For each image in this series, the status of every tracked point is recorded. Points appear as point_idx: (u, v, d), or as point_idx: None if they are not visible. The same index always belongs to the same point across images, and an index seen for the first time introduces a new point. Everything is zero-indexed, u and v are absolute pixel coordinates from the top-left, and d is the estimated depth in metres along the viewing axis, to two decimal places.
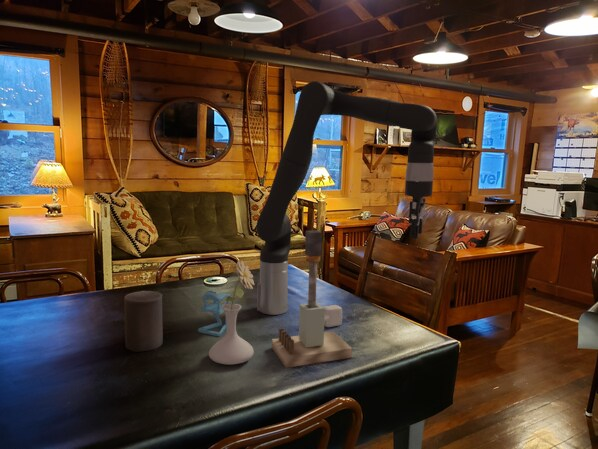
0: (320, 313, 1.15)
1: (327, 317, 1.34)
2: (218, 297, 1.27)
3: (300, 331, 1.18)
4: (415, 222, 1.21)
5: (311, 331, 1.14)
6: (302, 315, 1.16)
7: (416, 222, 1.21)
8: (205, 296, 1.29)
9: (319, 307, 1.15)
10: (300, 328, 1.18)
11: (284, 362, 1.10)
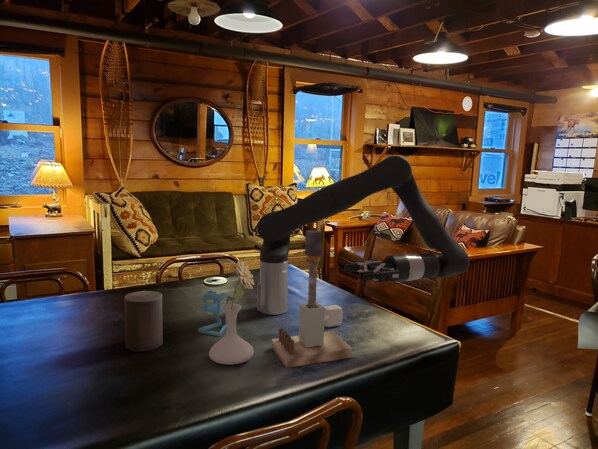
0: (320, 313, 1.15)
1: (327, 317, 1.34)
2: (218, 297, 1.27)
3: (300, 331, 1.18)
4: (381, 279, 1.14)
5: (311, 331, 1.14)
6: (302, 315, 1.16)
7: (381, 280, 1.14)
8: (205, 296, 1.29)
9: (319, 307, 1.15)
10: (300, 328, 1.18)
11: (284, 362, 1.10)
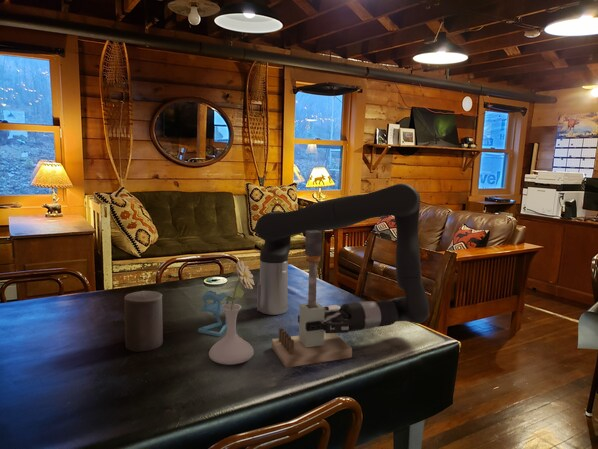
0: (320, 313, 1.15)
1: None
2: (218, 297, 1.27)
3: (300, 331, 1.18)
4: (327, 330, 1.13)
5: (311, 331, 1.14)
6: (302, 315, 1.16)
7: (327, 332, 1.13)
8: (205, 296, 1.29)
9: (319, 307, 1.15)
10: (300, 328, 1.18)
11: (284, 362, 1.10)
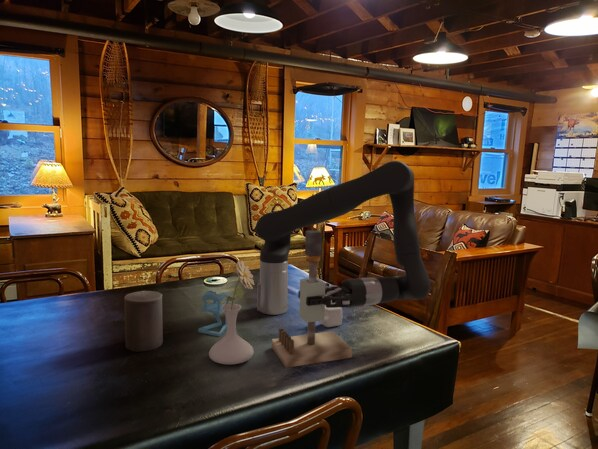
0: (321, 288, 1.13)
1: (327, 317, 1.34)
2: (218, 297, 1.27)
3: (300, 307, 1.17)
4: (328, 305, 1.11)
5: (312, 306, 1.13)
6: (303, 290, 1.15)
7: (328, 306, 1.12)
8: (205, 296, 1.29)
9: (320, 282, 1.14)
10: (300, 303, 1.17)
11: (284, 362, 1.10)
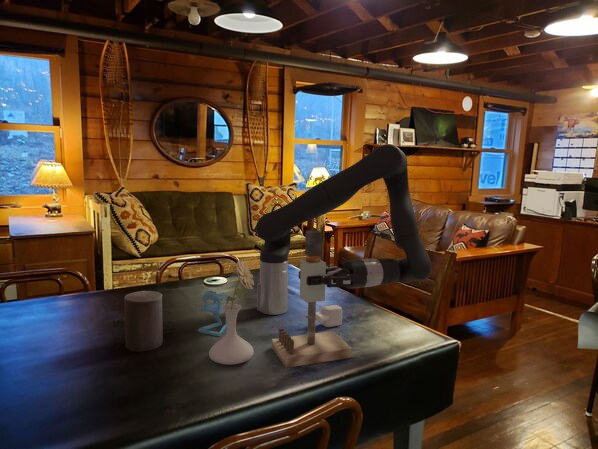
0: (321, 267, 1.13)
1: (327, 317, 1.34)
2: (218, 297, 1.27)
3: (300, 287, 1.16)
4: (329, 284, 1.11)
5: (312, 286, 1.13)
6: (303, 270, 1.14)
7: (329, 285, 1.11)
8: (205, 296, 1.29)
9: (320, 262, 1.13)
10: (301, 284, 1.16)
11: (284, 362, 1.10)
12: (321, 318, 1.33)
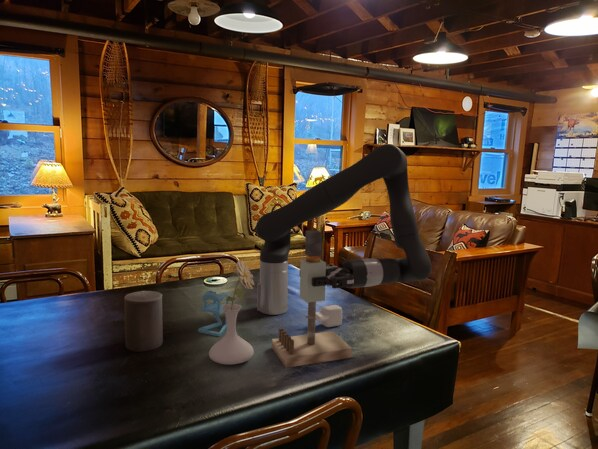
0: (321, 267, 1.13)
1: (327, 317, 1.34)
2: (218, 297, 1.27)
3: (300, 287, 1.16)
4: (334, 285, 1.10)
5: (312, 286, 1.13)
6: (303, 270, 1.14)
7: (334, 286, 1.10)
8: (205, 296, 1.29)
9: (320, 262, 1.13)
10: (301, 284, 1.16)
11: (284, 362, 1.10)
12: (321, 318, 1.33)
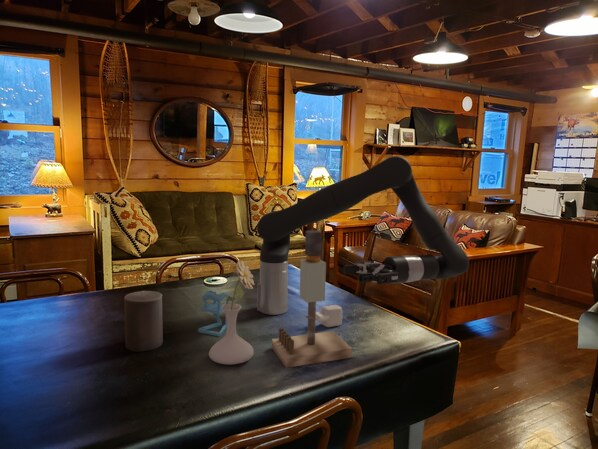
0: (321, 267, 1.13)
1: (327, 317, 1.34)
2: (218, 297, 1.27)
3: (300, 287, 1.16)
4: (380, 281, 1.14)
5: (312, 286, 1.13)
6: (303, 270, 1.14)
7: (380, 282, 1.14)
8: (205, 296, 1.29)
9: (320, 262, 1.13)
10: (301, 284, 1.16)
11: (284, 362, 1.10)
12: (321, 318, 1.33)
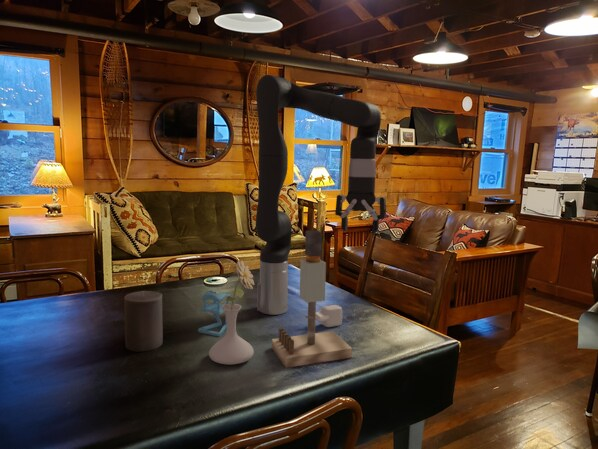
0: (321, 267, 1.13)
1: (327, 317, 1.34)
2: (218, 297, 1.27)
3: (300, 287, 1.16)
4: (385, 216, 1.25)
5: (312, 286, 1.13)
6: (303, 270, 1.14)
7: (385, 216, 1.26)
8: (205, 296, 1.29)
9: (320, 262, 1.13)
10: (301, 284, 1.16)
11: (284, 362, 1.10)
12: (321, 318, 1.33)
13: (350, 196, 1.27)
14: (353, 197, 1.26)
